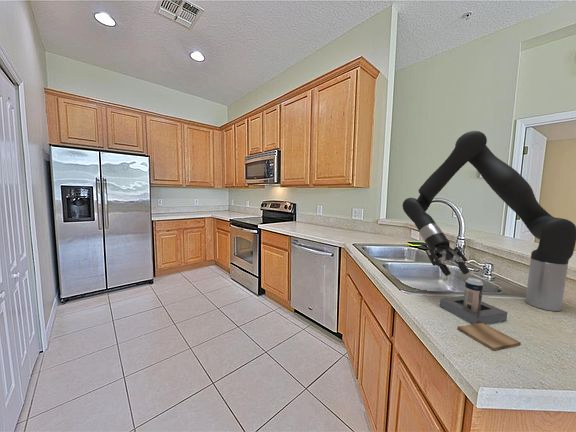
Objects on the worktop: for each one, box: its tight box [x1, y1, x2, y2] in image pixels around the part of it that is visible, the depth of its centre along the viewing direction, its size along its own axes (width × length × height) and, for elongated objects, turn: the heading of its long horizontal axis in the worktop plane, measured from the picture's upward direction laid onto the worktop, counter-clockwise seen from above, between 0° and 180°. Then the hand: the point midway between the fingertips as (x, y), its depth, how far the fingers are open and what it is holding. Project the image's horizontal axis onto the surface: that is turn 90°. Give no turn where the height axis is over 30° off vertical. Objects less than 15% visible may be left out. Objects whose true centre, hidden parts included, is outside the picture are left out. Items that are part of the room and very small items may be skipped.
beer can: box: [463, 277, 484, 311], centre depth 80 cm, size 5×5×12 cm
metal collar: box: [439, 295, 508, 325], centre depth 81 cm, size 13×13×3 cm
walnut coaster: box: [456, 323, 522, 351], centre depth 68 cm, size 10×10×1 cm
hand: (457, 274), depth 86 cm, fingers open, 8 cm apart
